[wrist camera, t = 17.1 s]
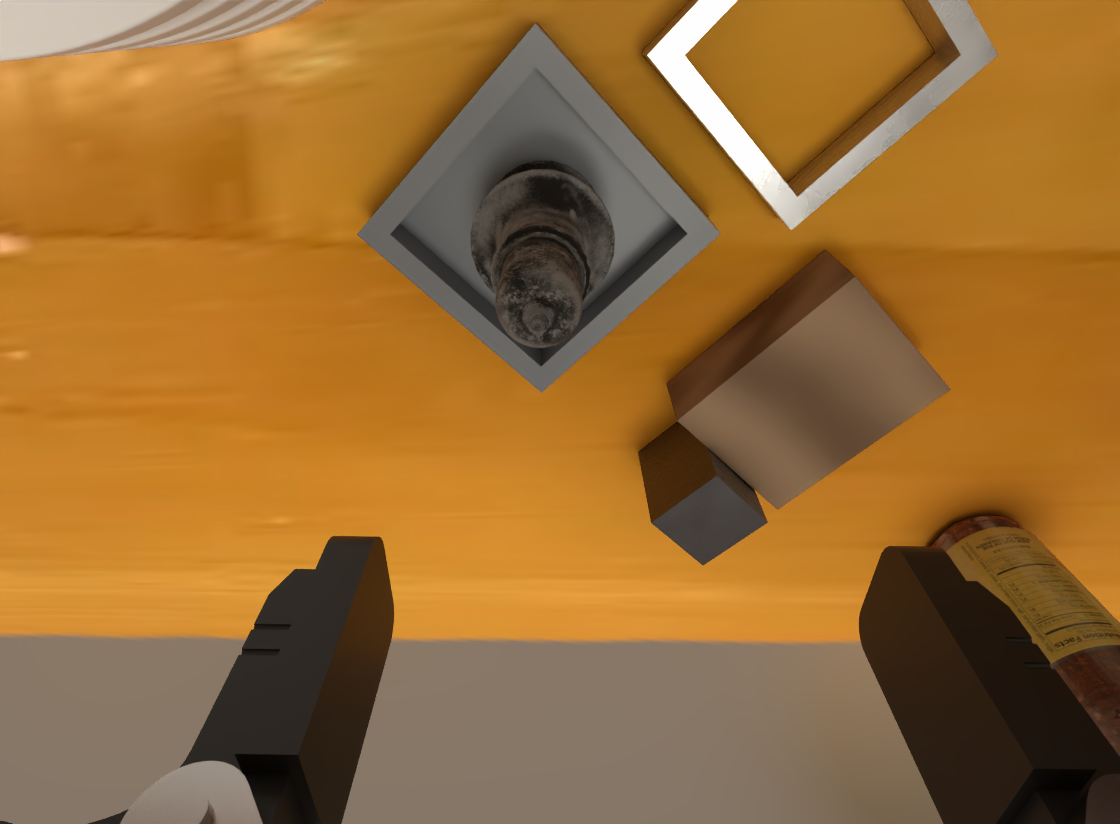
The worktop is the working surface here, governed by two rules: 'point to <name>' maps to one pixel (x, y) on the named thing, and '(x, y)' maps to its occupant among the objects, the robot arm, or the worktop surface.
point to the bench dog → (697, 495)
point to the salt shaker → (542, 249)
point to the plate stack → (132, 23)
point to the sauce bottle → (1046, 609)
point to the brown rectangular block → (803, 383)
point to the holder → (953, 64)
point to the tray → (518, 138)
